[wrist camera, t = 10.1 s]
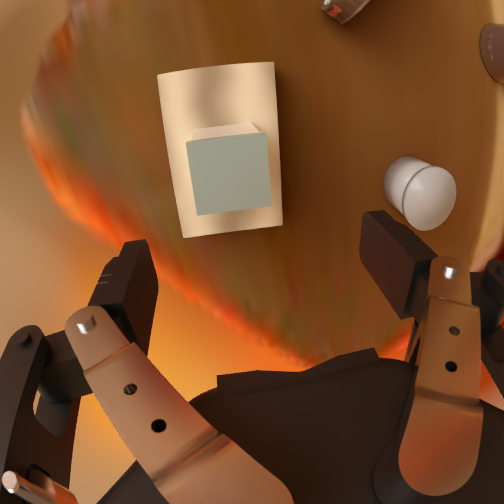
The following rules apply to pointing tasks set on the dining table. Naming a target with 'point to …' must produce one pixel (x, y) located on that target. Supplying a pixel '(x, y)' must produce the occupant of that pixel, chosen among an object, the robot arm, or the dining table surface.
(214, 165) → the green and cream block
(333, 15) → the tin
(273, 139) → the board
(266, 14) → the dining table surface
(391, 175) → the sugar bowl
